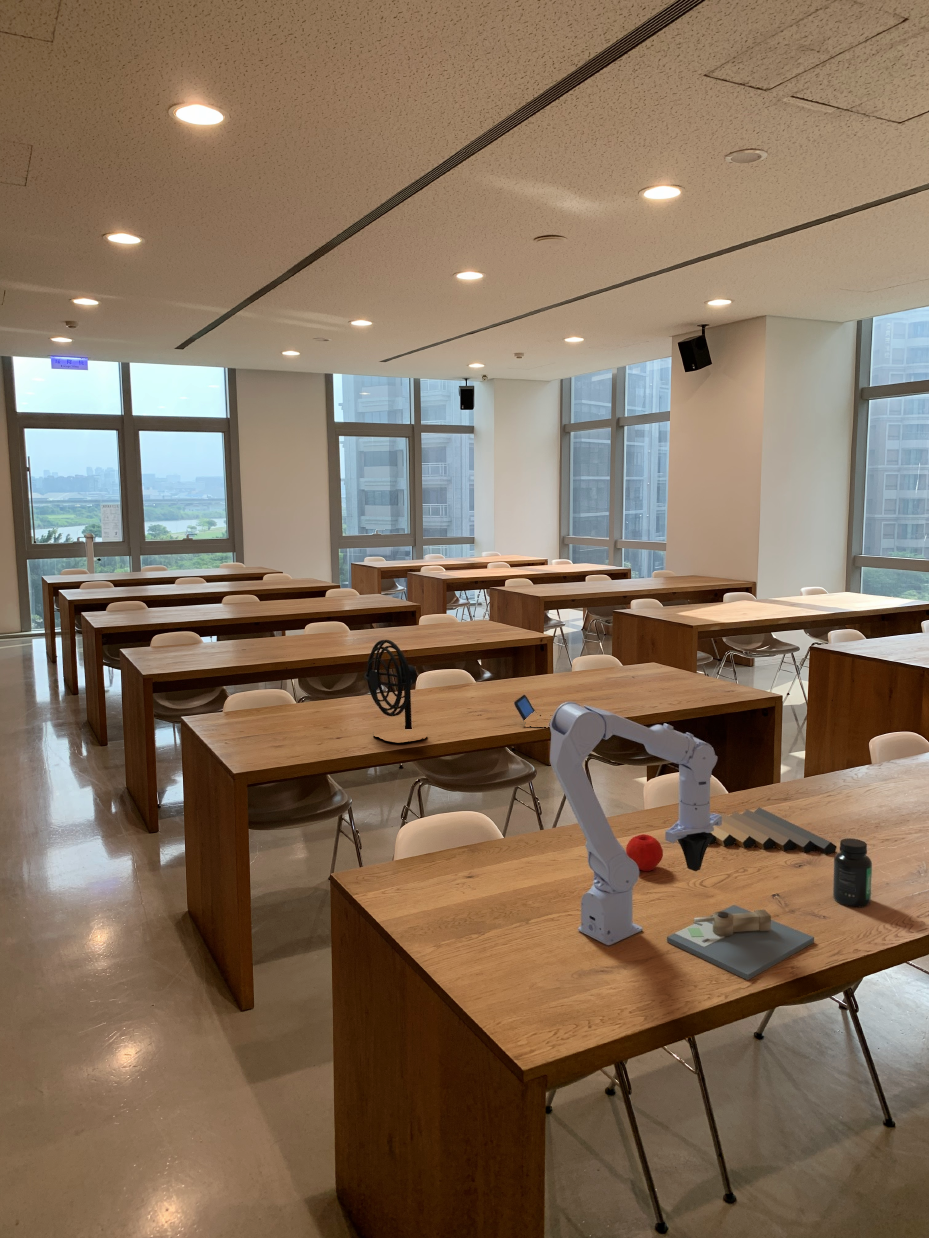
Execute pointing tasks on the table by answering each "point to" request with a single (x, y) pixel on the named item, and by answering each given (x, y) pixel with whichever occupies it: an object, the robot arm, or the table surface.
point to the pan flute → (767, 833)
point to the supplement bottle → (852, 874)
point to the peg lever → (738, 922)
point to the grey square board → (741, 945)
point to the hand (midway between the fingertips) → (693, 868)
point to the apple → (645, 852)
